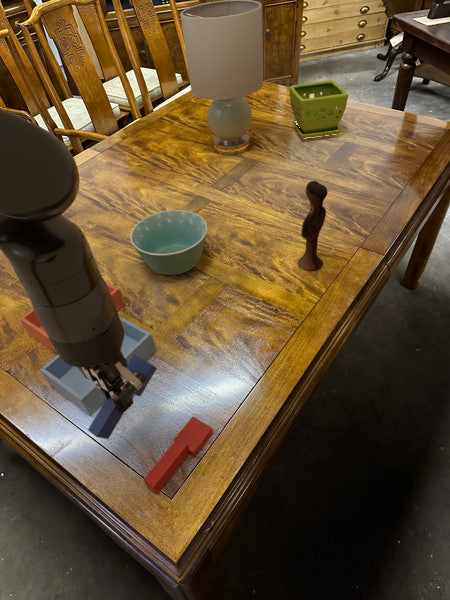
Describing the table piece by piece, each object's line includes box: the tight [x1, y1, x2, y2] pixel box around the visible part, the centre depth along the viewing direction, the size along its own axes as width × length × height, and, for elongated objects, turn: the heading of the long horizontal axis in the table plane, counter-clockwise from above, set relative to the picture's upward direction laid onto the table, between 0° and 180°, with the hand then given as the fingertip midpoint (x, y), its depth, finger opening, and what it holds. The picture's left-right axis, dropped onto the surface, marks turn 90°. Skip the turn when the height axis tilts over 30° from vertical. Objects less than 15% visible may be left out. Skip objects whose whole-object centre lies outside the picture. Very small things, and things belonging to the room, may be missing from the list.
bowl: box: [129, 209, 208, 276], centre depth 87 cm, size 16×16×8 cm
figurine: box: [297, 180, 329, 272], centre depth 80 cm, size 7×5×18 cm
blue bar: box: [87, 355, 158, 440], centre depth 56 cm, size 11×4×3 cm, turn 145°
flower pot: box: [289, 80, 349, 141], centre depth 125 cm, size 14×14×13 cm
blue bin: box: [39, 315, 157, 417], centre depth 70 cm, size 15×10×4 cm
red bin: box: [19, 281, 126, 355], centre depth 78 cm, size 15×10×4 cm
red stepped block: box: [143, 415, 214, 496], centre depth 58 cm, size 11×4×3 cm, turn 144°
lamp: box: [180, 0, 264, 156], centre depth 115 cm, size 20×20×35 cm
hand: (120, 402), depth 56 cm, fingers closed on blue bar, 1 cm apart
